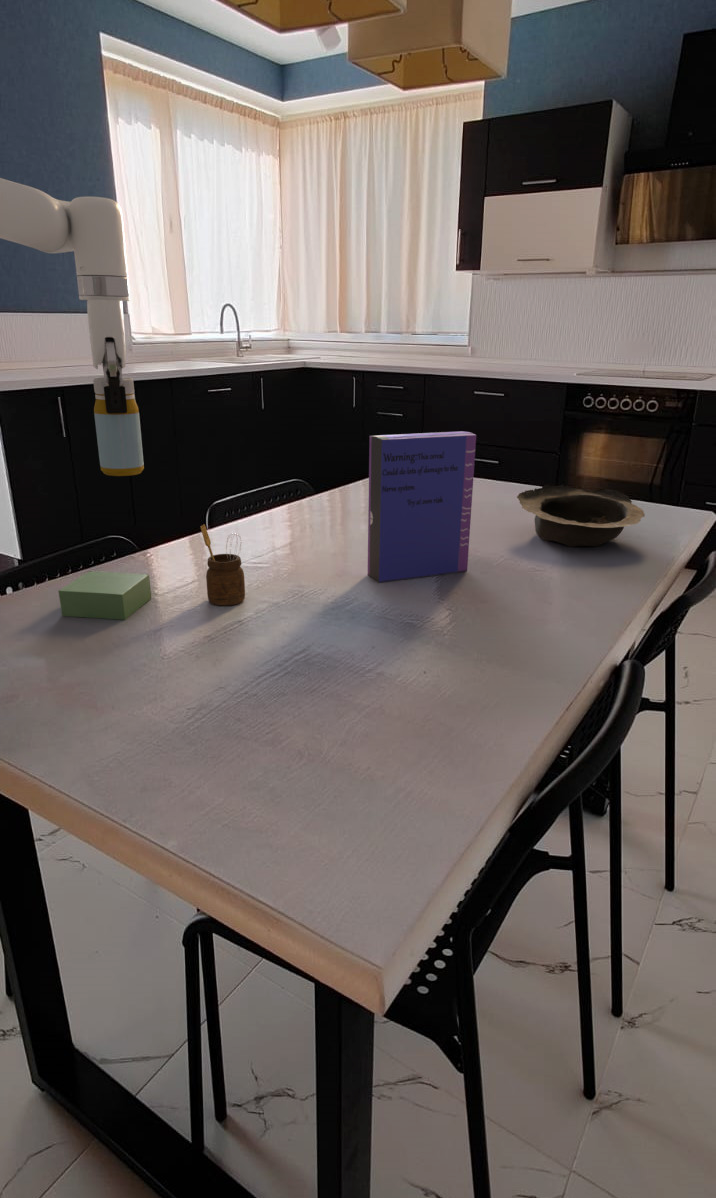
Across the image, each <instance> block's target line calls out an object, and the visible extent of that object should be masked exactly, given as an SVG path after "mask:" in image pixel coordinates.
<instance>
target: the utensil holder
mask: <svg viewBox="0 0 716 1198" xmlns="http://www.w3.org/2000/svg"><path fill="white" fill-rule="evenodd" d="M199 528H200V531H201V533H202V534H201V535H202V538H203V542H204V545H205V546H206V547H207V548H208V552H209V555H210V556H209V557H208V558H207V562H206V563H207V564H206V565H207V567H208V568H207V570H206V575H205V578H206V579H205V582H206V594H207V599H208V602H209V603H210V604H212V605H214V606H221V607H227V606H235V605H239V604H241V603H243V602H244V600H245V598H246V584H245V582H246V581H245V573H244V569H243V568H242V559H241V556H240V554H241V549H242V543H240V545H239V550H238V549H237V547H234V548H235V552H234V553H232V550H229V553H228V551H227V550H228V549H227V548H228V542H230V544H229V545H230V546H232V544H233V542H232V541H233V540H234V537H235V536H236V537H238V536H239V534H238V533H234V532H233V533H230V534H229V535H228V537H227V540H226V545H225V551H226V553H217V554H213V550H212V547H211V544H212V542H211V539H210V535H209V533H208V529H207V527H206V524H202V525H200V527H199ZM229 538H230V539H231V541H229ZM239 539H240V540H242V539H241V536H239ZM238 542H239V540H238V538H236V542H235V543H236V545H238V544H239V543H238ZM237 551H238V553H237ZM236 553H237V554H236Z"/></svg>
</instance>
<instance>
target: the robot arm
mask: <svg viewBox="0 0 716 1198" xmlns="http://www.w3.org/2000/svg"><path fill="white" fill-rule="evenodd" d="M0 239H2V240H4V241H9V242H12V243H15V244H19V245H23V246H26V247H28V248H31V249H35V250H37V251H40V252H43V253H47V254H62V253H69V252H73V253H74V262H75V271H76V280H77V282H76V283H77V290H78V299H79V301H86V309H87V310H86V311H87V324H88V332H89V341H90V350H91V358H92V367H93V368H94V369H96V370H98V369H99V366H100V365H102V371H103V378H104V379H105V387H104V395H105V404H106V412H107V413H109V414H111V413H127V403H126V393H125V386H124V387H123V378H124V377H123V369H125V368H126V356H127V355H126V354H127V353H126V352H127V351H126V350H127V347H126V330H125V318H124V305H123V302H131V297H130V285H129V278H128V277H129V275H128V274H129V273H128V264H127V253H126V241H125V231H124V220H123V211H122V208H121V206H120V204H119V203H118V202H117V201H116V200H115V199H112V198H108V197H103V196H102V197H101V196H77V197H74V198H73V199H71V201H67V200H61V199H57V198H54V197H53V196H51V195H50V194H48V193H46V192H45V191H43V190H40V189H38V188H35V187H32V186H30V185H26V184H22V183H19V182H15V181H11V180H8V179H6V178H2V177H0ZM122 377H123V378H122ZM108 384H109V385H108Z"/></svg>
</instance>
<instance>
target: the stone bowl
mask: <svg viewBox="0 0 716 1198" xmlns="http://www.w3.org/2000/svg"><path fill="white" fill-rule="evenodd" d="M516 498H517V500H518V501H519V504H520V505H521V509H523V510H525V511H526V512H527V513H530V514H533V515H535V516H534V528H535V534H536V535H537V537H539V538H541V539H543V540H544V541H549V542H550V541H551V542H552V541H555V542H557V543H560V544H563V545H565V546H568V547H571V548H575V547H579V546H580V547H599V546H602V545H603V544H604V543H608V542H610V541H612V540H615V539H617V538H618V537H619V536H620V535H621V533H622V532H623V531H624V528H625V527H628V526H632V525H637V524H639V523H640V522H641V519H642V518H645V517H646V515H645V511H644V510H643V509H642V508H641V507H639V506H638V505H636V504H634V503H632V502H633V501H632V499H630V497H629V495H627V494H624V493H622V492H621V491H619V490H617V489H609V488H604V489H599V490H590V491H588V490H585V489H579V488H576V487H572V486H569V485H565V486H564V484H563V483H562V484H560V485H550V484H544V485H543V486H542V487H539V488H534V489H528V490H524V491H521V492H519V494H517V496H516Z"/></svg>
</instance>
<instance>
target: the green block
mask: <svg viewBox="0 0 716 1198" xmlns="http://www.w3.org/2000/svg"><path fill="white" fill-rule="evenodd" d="M150 579H151V578H150V574H147V573H133V572H132V573H131V572H129V573H128V572H113V571H112V572H110V571H96V570H95V571H94V570H92V571H91V570H89V571H88V572H86V573H85V574H83V575H82V576H80V577H78V578H77V579H75V580H73V581H72V582H70V583H68V584H67V585H64V587H62V588H60V589H59V590H58V597H59V605H60V609H61V610H60V612H61V616H62V617H74V618H88V619H103V620H104V619H105V620H119V621H120V620H121V621H125V620H127V619H128V618H129V617H130V616H132V615H133V614H135V612H137V611H138V610H140V608H141V607H143V606H144V605H145V604H147V603H148V602H149V601H150V600H151V599H152V588H151V580H150Z"/></svg>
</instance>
